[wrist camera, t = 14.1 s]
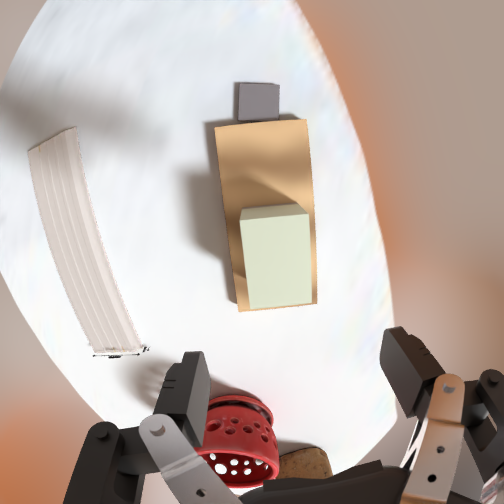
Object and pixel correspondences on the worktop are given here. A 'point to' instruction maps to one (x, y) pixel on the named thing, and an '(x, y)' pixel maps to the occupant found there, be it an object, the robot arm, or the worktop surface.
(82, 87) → the worktop surface
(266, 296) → the block
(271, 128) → the oak board
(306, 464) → the block
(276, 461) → the plant pot
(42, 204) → the baseboard
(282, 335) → the worktop surface
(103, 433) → the robot arm
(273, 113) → the gray square tile
